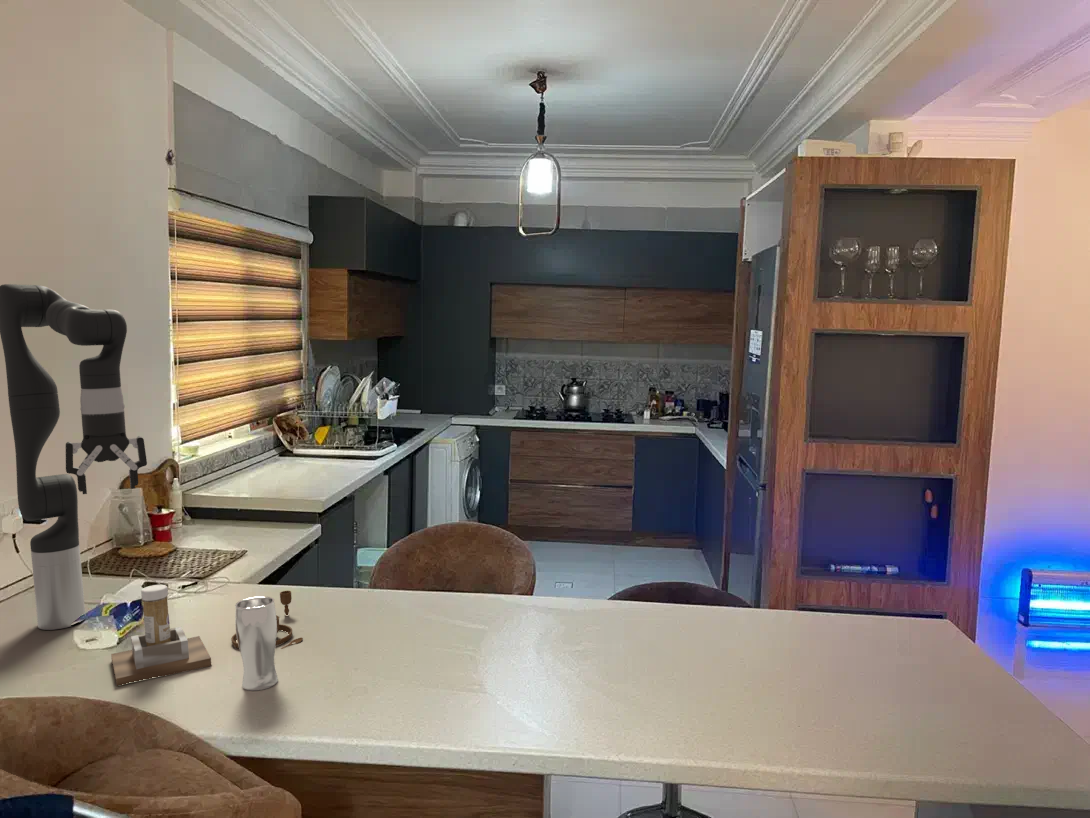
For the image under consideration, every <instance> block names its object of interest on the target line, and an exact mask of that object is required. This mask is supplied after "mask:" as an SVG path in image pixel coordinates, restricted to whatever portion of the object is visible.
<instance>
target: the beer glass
mask: <svg viewBox="0 0 1090 818" xmlns="http://www.w3.org/2000/svg"><path fill="white" fill-rule="evenodd" d="M275 604H276V603H275V599H274V597H270V596H253V597H252V596H251V597H248V598H244V599H241V600H239V601H238V602H236V603H235V605H234V606H235V613H234V614H235V615H234V618H235V624H234V625H235V634H236V636H237V643H238V645H239V649H238V650H239V652H240V657H241V659H242V667H243V671H242V672H243V674H242V675H243V676H242V682H241V683H242V684H241V687H242V689H244V690H246V691H262V690H266V689H270V688H272V687H273V686H275V685H276V684H277V683H278V680H279V678H278V675H277V669H276V664H275V655H276V654H275V653H276V647H277V646H276V641H277V636H278V633H277V618H276V615H277V611H276V605H275Z"/></svg>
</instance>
